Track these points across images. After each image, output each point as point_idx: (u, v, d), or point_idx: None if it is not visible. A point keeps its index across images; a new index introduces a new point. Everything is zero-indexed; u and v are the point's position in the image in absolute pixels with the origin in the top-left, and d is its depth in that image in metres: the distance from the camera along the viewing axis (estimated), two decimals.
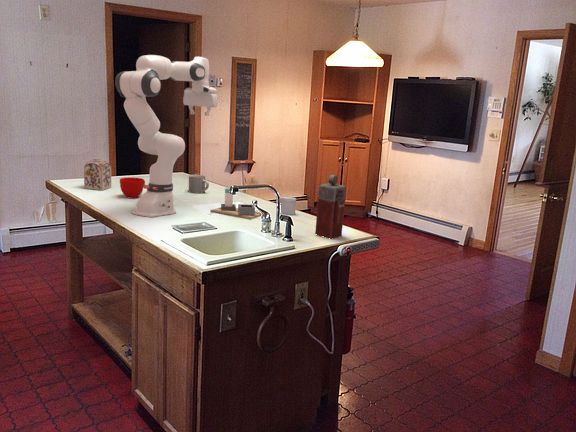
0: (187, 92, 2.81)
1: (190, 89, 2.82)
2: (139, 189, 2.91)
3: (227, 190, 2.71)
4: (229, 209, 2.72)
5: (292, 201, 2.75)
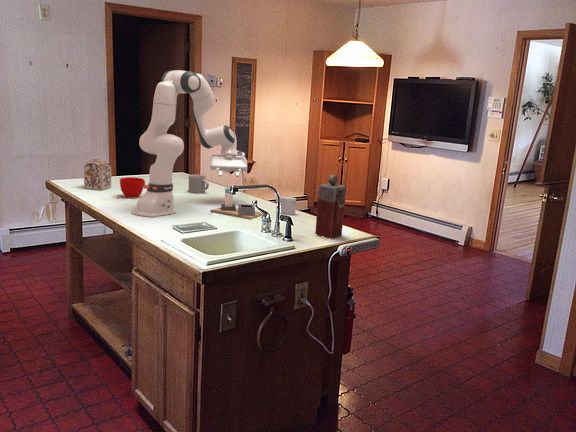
0: (216, 156, 2.87)
1: (217, 155, 2.89)
2: (139, 189, 2.91)
3: (227, 190, 2.71)
4: (229, 209, 2.72)
5: (292, 201, 2.75)
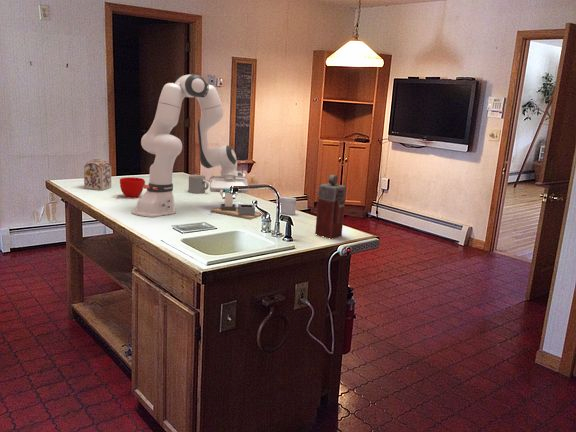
0: (215, 178, 2.77)
1: (217, 177, 2.79)
2: (139, 189, 2.91)
3: (227, 190, 2.71)
4: (229, 209, 2.72)
5: (292, 201, 2.75)
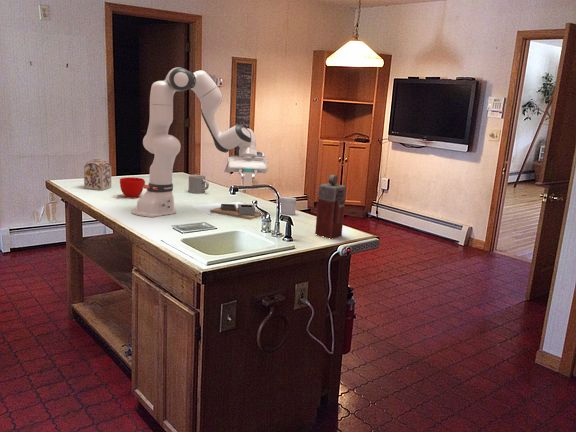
0: (234, 157, 2.67)
1: (235, 156, 2.69)
2: (139, 189, 2.91)
3: (246, 169, 2.61)
4: (229, 209, 2.72)
5: (292, 201, 2.75)
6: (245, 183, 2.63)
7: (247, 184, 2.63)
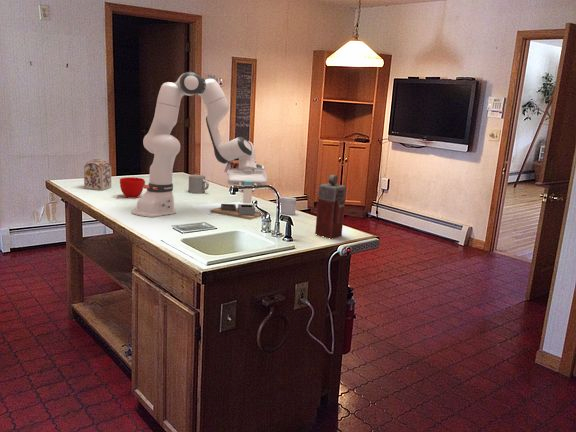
0: (233, 170, 2.68)
1: (235, 169, 2.71)
2: (139, 189, 2.91)
3: (246, 182, 2.63)
4: (229, 209, 2.72)
5: (292, 201, 2.75)
6: (245, 196, 2.64)
7: (247, 197, 2.65)
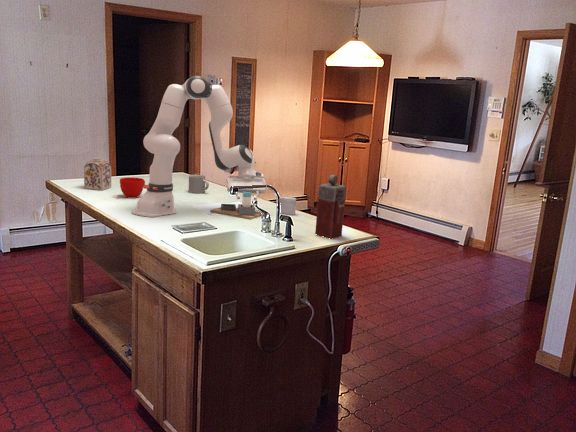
0: (233, 178, 2.69)
1: None
2: (139, 189, 2.91)
3: (245, 194, 2.64)
4: (229, 209, 2.72)
5: (292, 201, 2.75)
6: None
7: None
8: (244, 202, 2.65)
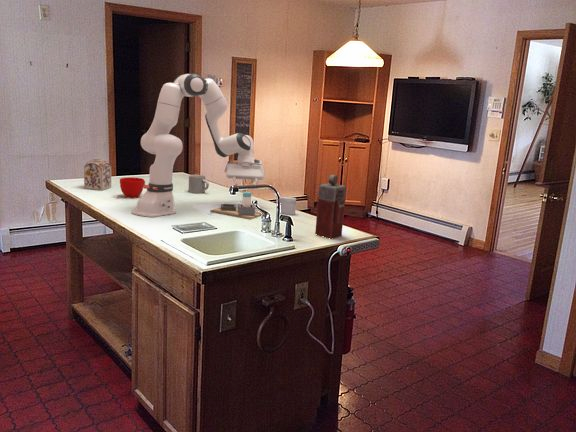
0: (232, 164, 2.81)
1: (234, 163, 2.83)
2: (139, 189, 2.91)
3: (245, 194, 2.64)
4: (229, 209, 2.72)
5: (292, 201, 2.75)
6: None
7: None
8: (244, 202, 2.65)
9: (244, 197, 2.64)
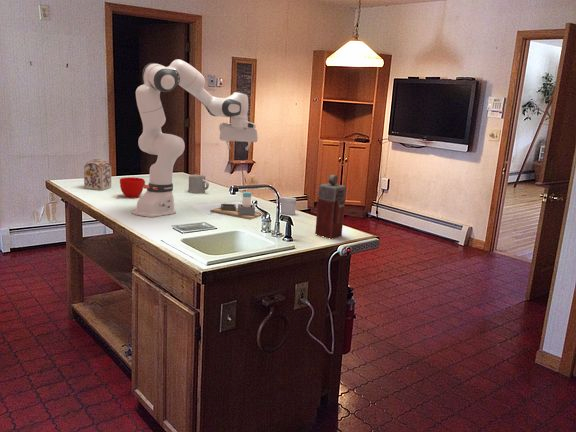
0: (225, 127, 2.76)
1: (227, 124, 2.77)
2: (139, 189, 2.91)
3: (245, 194, 2.64)
4: (229, 209, 2.72)
5: (292, 201, 2.75)
6: None
7: None
8: (244, 202, 2.65)
9: (244, 197, 2.64)
